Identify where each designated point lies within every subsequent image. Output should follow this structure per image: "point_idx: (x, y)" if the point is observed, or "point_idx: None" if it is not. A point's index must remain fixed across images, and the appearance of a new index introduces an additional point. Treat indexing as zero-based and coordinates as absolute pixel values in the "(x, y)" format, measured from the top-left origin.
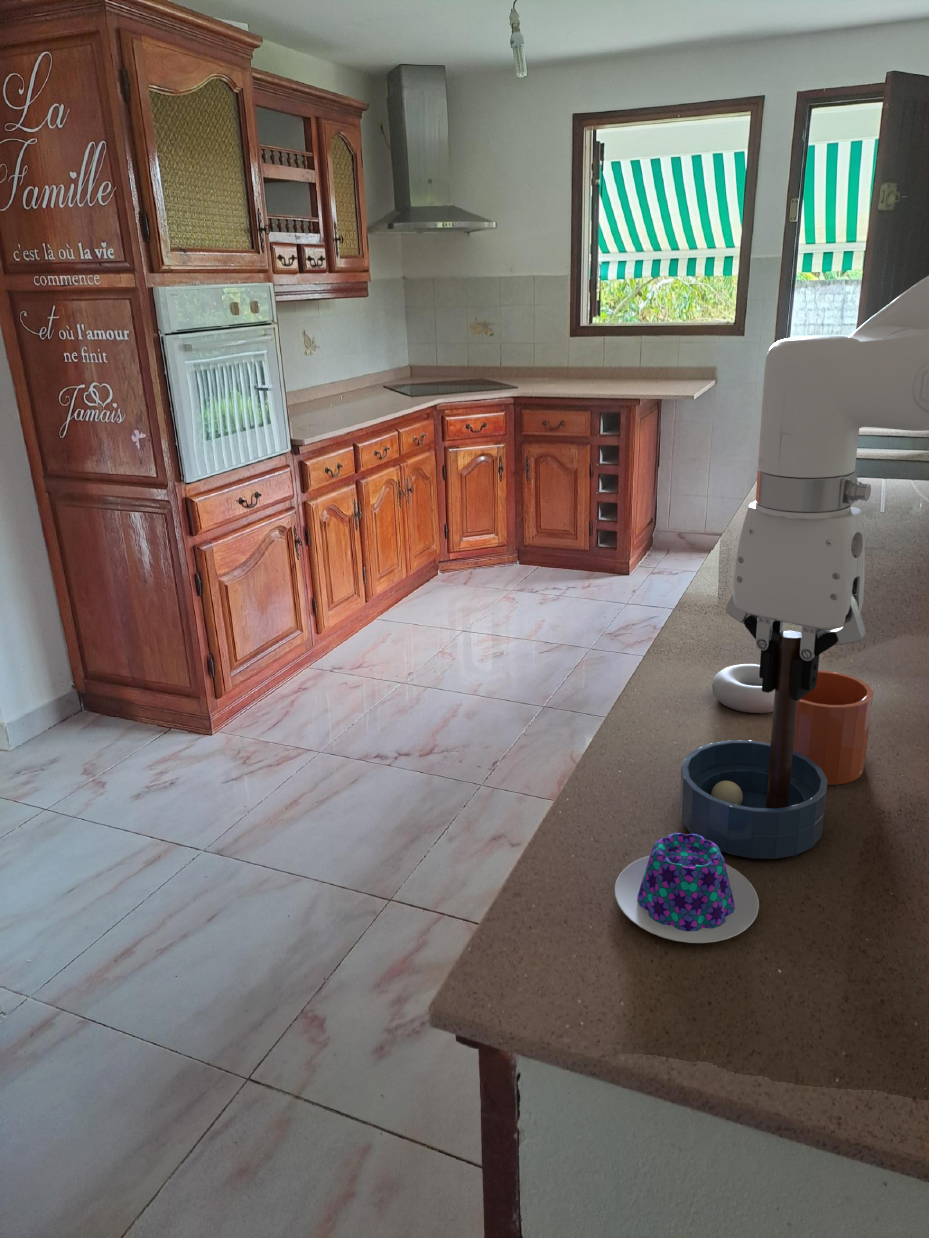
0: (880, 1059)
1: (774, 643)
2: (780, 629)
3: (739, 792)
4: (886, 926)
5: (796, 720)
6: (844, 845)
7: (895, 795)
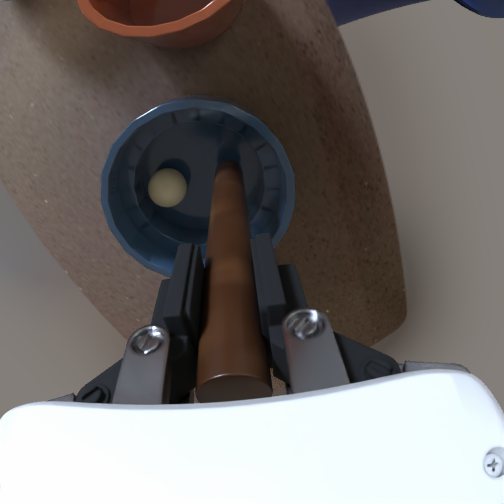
0: (391, 319)
1: (195, 381)
2: (170, 373)
3: (181, 187)
4: (374, 226)
5: (157, 41)
6: (303, 139)
7: (299, 3)
